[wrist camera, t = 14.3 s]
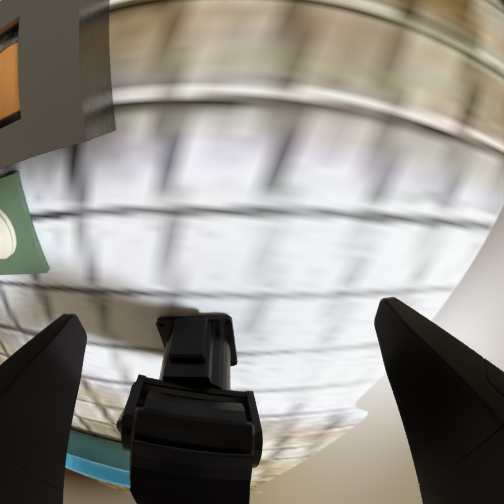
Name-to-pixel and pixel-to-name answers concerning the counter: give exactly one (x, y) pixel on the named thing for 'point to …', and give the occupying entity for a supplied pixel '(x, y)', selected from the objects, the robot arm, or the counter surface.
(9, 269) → the mat
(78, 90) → the breaker guard
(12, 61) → the button
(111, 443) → the casserole dish
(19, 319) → the counter surface
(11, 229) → the chess piece
